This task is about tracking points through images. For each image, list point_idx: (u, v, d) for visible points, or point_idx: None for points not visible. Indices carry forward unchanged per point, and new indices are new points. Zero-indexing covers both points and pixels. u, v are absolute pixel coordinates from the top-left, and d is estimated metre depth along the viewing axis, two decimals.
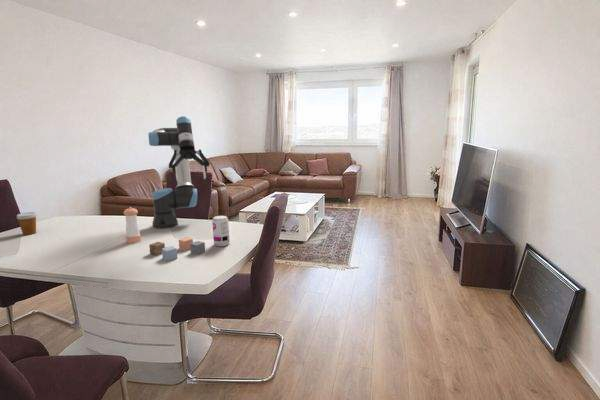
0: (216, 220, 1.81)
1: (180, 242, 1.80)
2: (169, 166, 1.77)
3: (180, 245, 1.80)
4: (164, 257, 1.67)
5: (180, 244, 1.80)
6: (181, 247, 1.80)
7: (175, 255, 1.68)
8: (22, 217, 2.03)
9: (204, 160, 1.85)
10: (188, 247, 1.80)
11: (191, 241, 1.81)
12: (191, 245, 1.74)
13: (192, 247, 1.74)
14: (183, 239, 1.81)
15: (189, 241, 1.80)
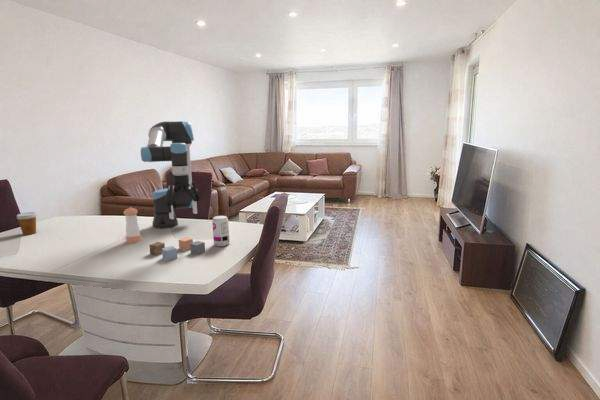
0: (216, 220, 1.81)
1: (180, 242, 1.80)
2: (165, 205, 1.69)
3: (180, 245, 1.80)
4: (164, 257, 1.67)
5: (180, 244, 1.80)
6: (181, 247, 1.80)
7: (175, 255, 1.68)
8: (22, 217, 2.03)
9: (196, 194, 1.82)
10: (188, 247, 1.80)
11: (191, 241, 1.81)
12: (191, 245, 1.74)
13: (192, 247, 1.74)
14: (183, 239, 1.81)
15: (189, 241, 1.80)
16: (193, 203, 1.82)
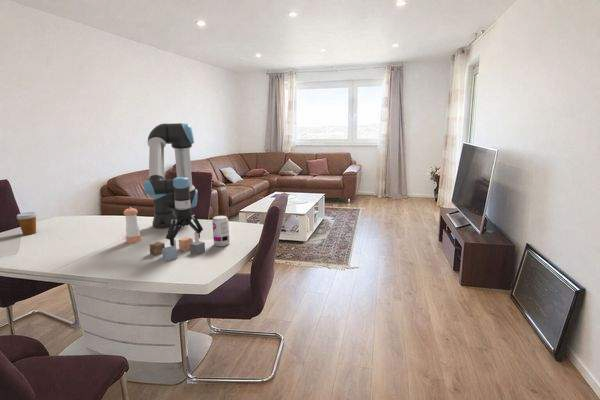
0: (216, 220, 1.81)
1: (180, 242, 1.80)
2: None
3: (180, 245, 1.80)
4: (164, 257, 1.67)
5: (180, 244, 1.80)
6: (181, 247, 1.80)
7: (175, 255, 1.68)
8: (22, 217, 2.03)
9: (198, 226, 1.86)
10: (188, 247, 1.80)
11: (191, 241, 1.81)
12: (191, 245, 1.74)
13: (192, 247, 1.74)
14: (183, 239, 1.81)
15: (189, 241, 1.80)
16: (195, 234, 1.86)
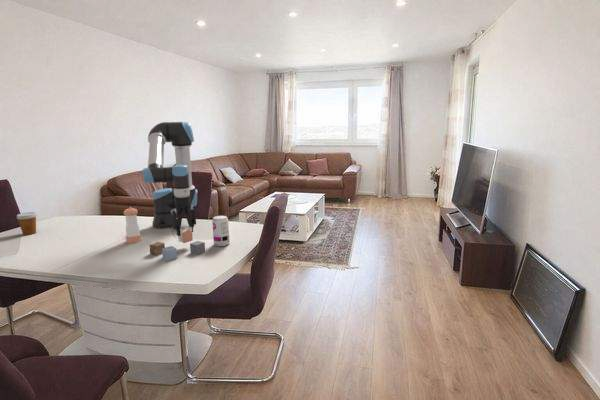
0: (216, 220, 1.81)
1: None
2: (175, 229, 1.75)
3: None
4: (164, 257, 1.67)
5: None
6: None
7: (175, 255, 1.68)
8: (22, 217, 2.03)
9: (193, 218, 1.83)
10: (187, 239, 1.80)
11: (190, 233, 1.81)
12: (191, 245, 1.74)
13: (192, 247, 1.74)
14: (182, 231, 1.81)
15: (188, 233, 1.80)
16: (188, 228, 1.82)
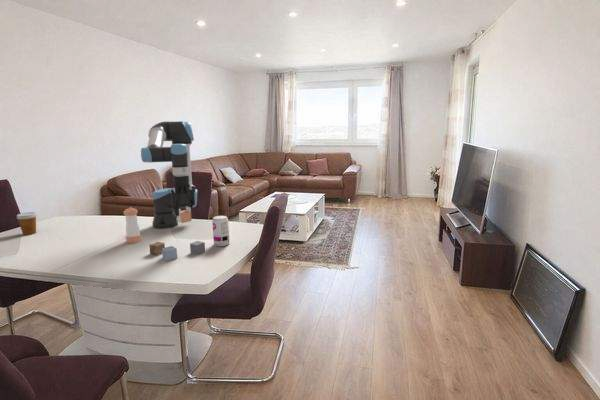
0: (216, 220, 1.81)
1: None
2: (173, 208, 1.74)
3: None
4: (164, 257, 1.67)
5: None
6: None
7: (175, 255, 1.68)
8: (22, 217, 2.03)
9: (191, 198, 1.81)
10: (186, 219, 1.78)
11: (189, 214, 1.79)
12: (191, 245, 1.74)
13: (192, 247, 1.74)
14: (181, 211, 1.79)
15: (187, 213, 1.78)
16: (187, 209, 1.81)
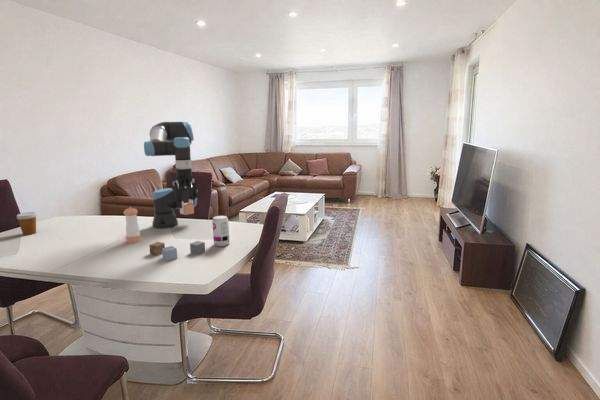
0: (216, 220, 1.81)
1: None
2: (176, 201, 1.77)
3: None
4: (164, 257, 1.67)
5: None
6: None
7: (175, 255, 1.68)
8: (22, 217, 2.03)
9: (194, 191, 1.85)
10: (189, 212, 1.81)
11: (192, 206, 1.82)
12: (191, 245, 1.74)
13: (192, 247, 1.74)
14: (184, 203, 1.83)
15: (190, 206, 1.81)
16: (190, 201, 1.84)
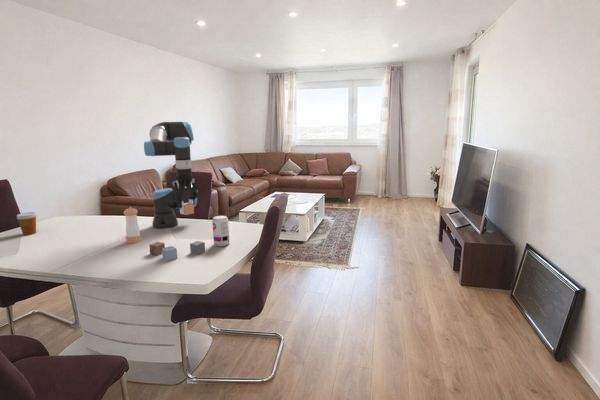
0: (216, 220, 1.81)
1: None
2: (176, 201, 1.77)
3: None
4: (164, 257, 1.67)
5: None
6: None
7: (175, 255, 1.68)
8: (22, 217, 2.03)
9: (194, 191, 1.85)
10: (189, 212, 1.81)
11: (192, 206, 1.82)
12: (191, 245, 1.74)
13: (192, 247, 1.74)
14: (184, 203, 1.83)
15: (190, 206, 1.81)
16: (190, 201, 1.84)
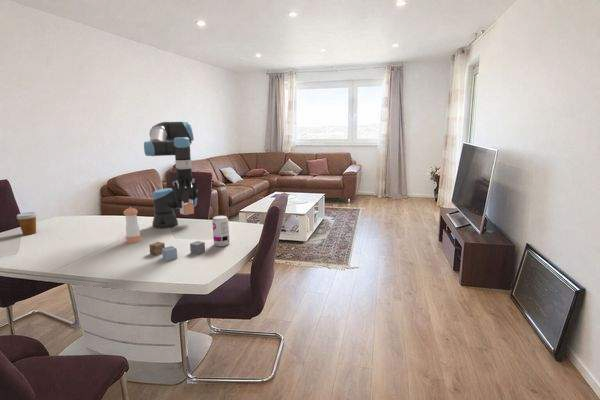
0: (216, 220, 1.81)
1: None
2: (176, 201, 1.77)
3: None
4: (164, 257, 1.67)
5: None
6: None
7: (175, 255, 1.68)
8: (22, 217, 2.03)
9: (194, 191, 1.85)
10: (189, 212, 1.81)
11: (192, 206, 1.82)
12: (191, 245, 1.74)
13: (192, 247, 1.74)
14: (184, 203, 1.83)
15: (190, 206, 1.81)
16: (190, 201, 1.84)
